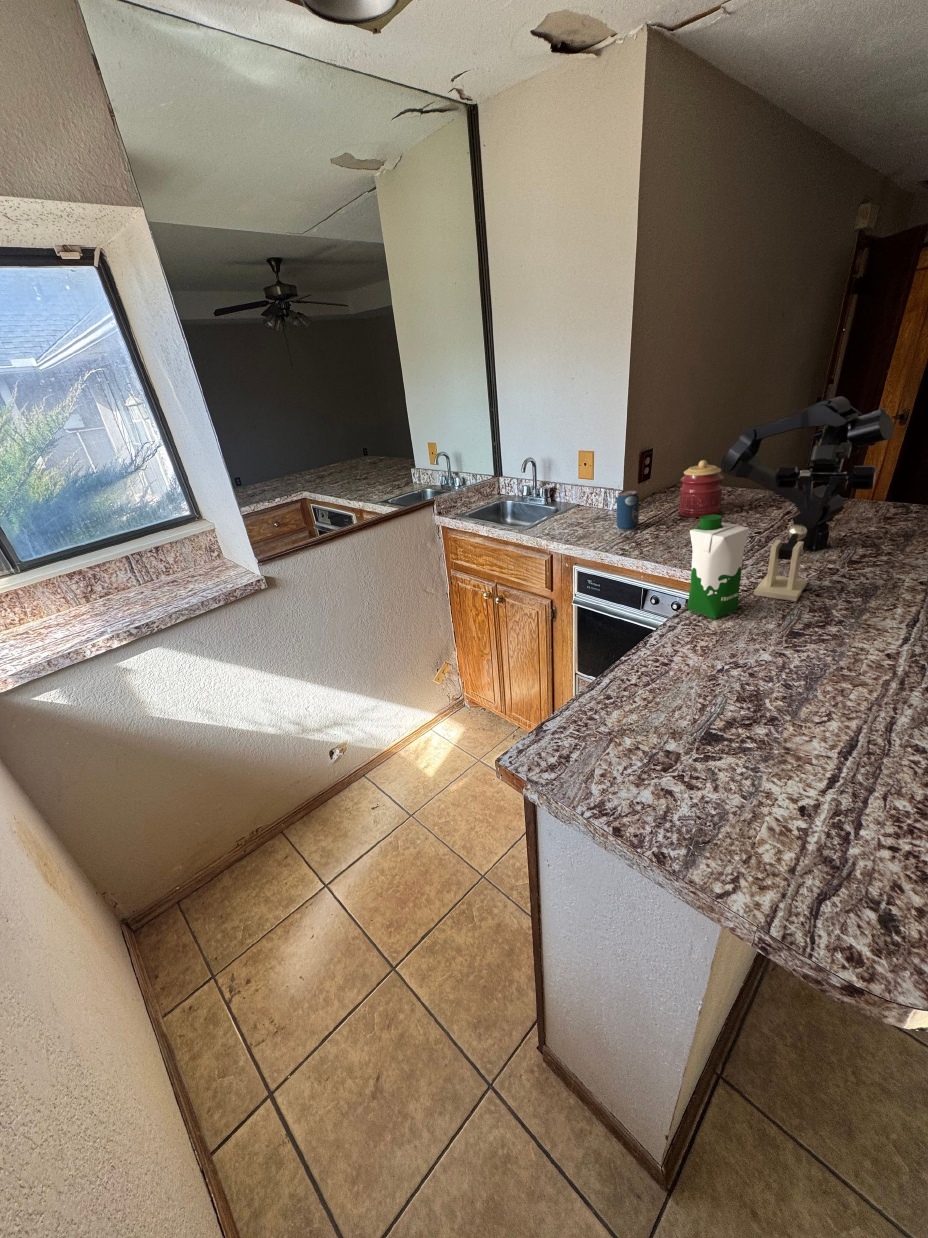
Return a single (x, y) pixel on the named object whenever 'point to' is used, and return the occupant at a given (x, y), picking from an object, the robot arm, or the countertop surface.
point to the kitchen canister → (701, 490)
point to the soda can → (627, 510)
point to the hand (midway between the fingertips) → (813, 509)
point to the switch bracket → (782, 585)
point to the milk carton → (716, 566)
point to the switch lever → (792, 541)
